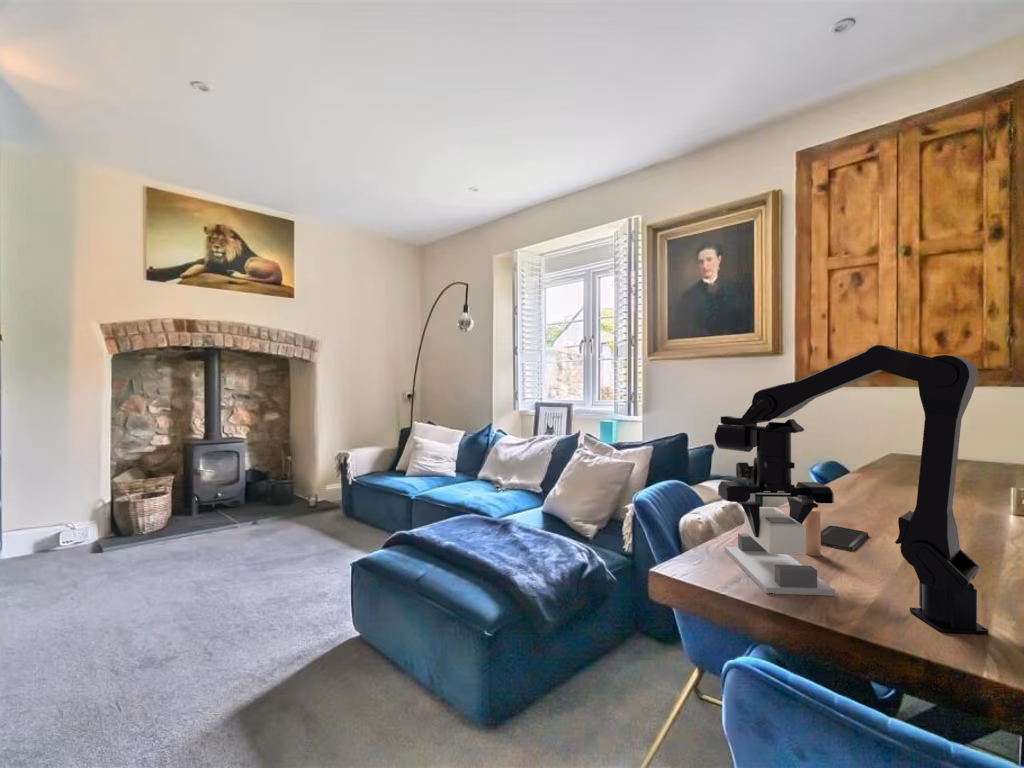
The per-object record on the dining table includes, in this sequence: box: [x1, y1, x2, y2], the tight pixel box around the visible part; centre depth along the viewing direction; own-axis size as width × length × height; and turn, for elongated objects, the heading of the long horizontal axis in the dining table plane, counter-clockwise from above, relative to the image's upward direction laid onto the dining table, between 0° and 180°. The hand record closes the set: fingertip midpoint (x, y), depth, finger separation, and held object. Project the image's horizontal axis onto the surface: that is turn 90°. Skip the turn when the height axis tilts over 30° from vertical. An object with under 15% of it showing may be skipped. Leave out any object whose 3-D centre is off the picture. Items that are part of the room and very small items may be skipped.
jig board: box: [724, 532, 835, 597], centre depth 91 cm, size 20×11×4 cm, turn 175°
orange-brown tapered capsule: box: [803, 508, 822, 557], centre depth 100 cm, size 3×3×9 cm
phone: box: [821, 525, 869, 552], centre depth 109 cm, size 8×1×15 cm
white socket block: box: [744, 506, 807, 556], centre depth 91 cm, size 13×6×5 cm, turn 172°
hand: (774, 537), depth 91 cm, fingers closed on white socket block, 6 cm apart
